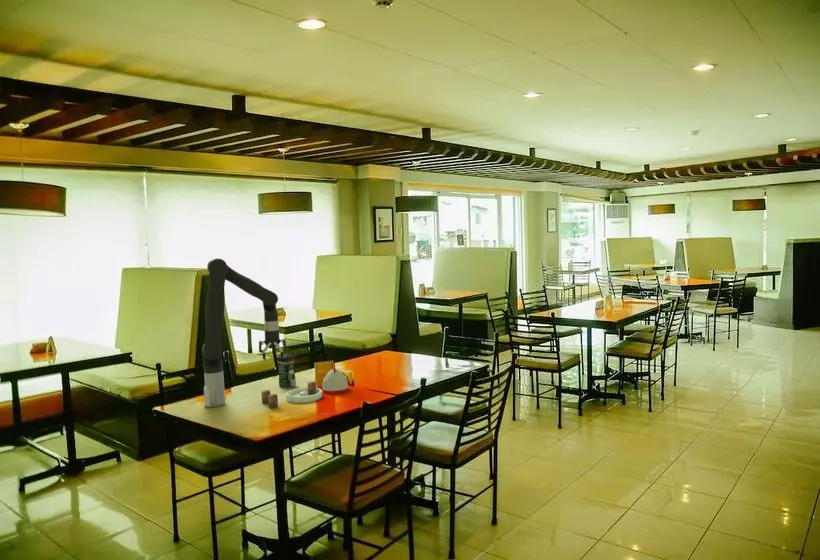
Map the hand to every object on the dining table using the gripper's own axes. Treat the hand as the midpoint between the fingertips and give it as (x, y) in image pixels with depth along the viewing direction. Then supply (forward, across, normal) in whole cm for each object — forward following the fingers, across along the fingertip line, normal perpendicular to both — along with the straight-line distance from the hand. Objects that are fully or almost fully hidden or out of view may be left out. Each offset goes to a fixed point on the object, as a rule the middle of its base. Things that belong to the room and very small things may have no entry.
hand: (273, 359), depth 302 cm
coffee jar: (+20, +8, +16) cm, 27 cm away
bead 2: (+18, +19, -9) cm, 28 cm away
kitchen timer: (+19, +32, -4) cm, 38 cm away
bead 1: (+20, -5, -12) cm, 24 cm away
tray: (+19, +14, -12) cm, 27 cm away
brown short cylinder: (+20, -2, -22) cm, 30 cm away
